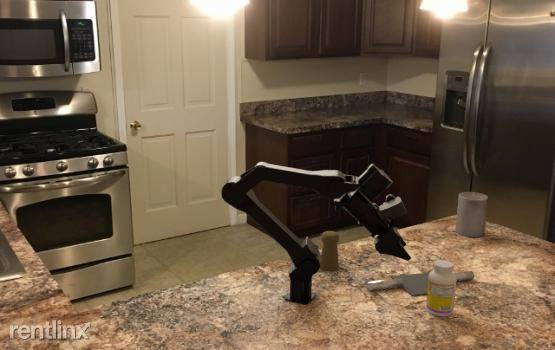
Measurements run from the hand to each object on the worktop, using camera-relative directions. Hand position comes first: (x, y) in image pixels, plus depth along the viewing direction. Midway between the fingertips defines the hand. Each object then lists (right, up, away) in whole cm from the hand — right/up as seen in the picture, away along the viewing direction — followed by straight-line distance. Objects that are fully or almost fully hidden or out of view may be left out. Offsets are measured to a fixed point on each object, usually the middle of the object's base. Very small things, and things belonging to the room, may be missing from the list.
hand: (407, 252), depth 141 cm
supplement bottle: (+8, -15, 0) cm, 17 cm away
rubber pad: (+7, -11, +15) cm, 20 cm away
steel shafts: (+7, -11, +15) cm, 20 cm away
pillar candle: (+35, -1, +56) cm, 66 cm away
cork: (-17, -8, +25) cm, 32 cm away
